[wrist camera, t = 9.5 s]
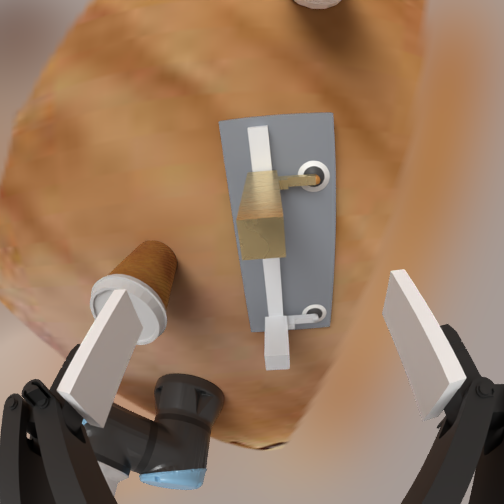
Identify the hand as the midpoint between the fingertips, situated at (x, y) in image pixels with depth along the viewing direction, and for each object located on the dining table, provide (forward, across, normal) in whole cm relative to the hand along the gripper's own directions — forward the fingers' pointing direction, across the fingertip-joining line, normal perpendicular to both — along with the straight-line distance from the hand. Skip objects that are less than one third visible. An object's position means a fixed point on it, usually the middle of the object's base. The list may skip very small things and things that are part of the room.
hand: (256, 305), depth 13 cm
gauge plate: (+22, -2, +8) cm, 23 cm away
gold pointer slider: (+19, -3, 0) cm, 20 cm away
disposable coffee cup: (+22, +16, +10) cm, 29 cm away
